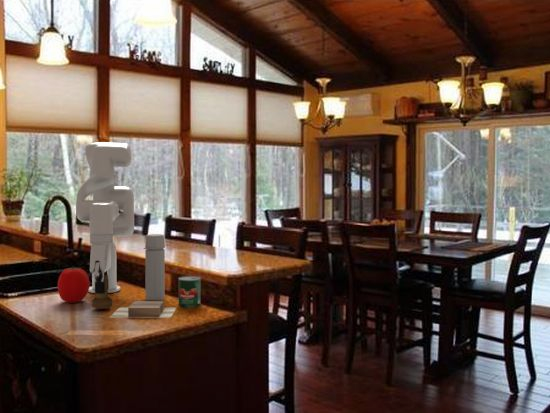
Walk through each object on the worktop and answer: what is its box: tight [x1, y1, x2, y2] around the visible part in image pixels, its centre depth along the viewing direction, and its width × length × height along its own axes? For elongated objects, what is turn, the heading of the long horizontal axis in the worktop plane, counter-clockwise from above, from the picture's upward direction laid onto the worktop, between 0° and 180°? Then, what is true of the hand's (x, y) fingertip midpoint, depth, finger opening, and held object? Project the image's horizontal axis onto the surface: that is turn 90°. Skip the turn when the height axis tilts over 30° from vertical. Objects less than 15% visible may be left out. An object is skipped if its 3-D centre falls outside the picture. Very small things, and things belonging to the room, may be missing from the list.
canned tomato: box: [177, 275, 202, 309], centre depth 202 cm, size 8×8×11 cm
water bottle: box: [143, 233, 166, 301], centre depth 213 cm, size 9×8×25 cm
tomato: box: [57, 266, 91, 304], centre depth 209 cm, size 12×12×13 cm
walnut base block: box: [128, 300, 165, 317], centre depth 190 cm, size 10×10×3 cm
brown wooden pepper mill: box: [91, 271, 113, 310], centre depth 193 cm, size 7×6×18 cm
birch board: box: [108, 306, 177, 319], centre depth 191 cm, size 14×20×1 cm
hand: (101, 291), depth 193 cm, fingers closed on brown wooden pepper mill, 4 cm apart
